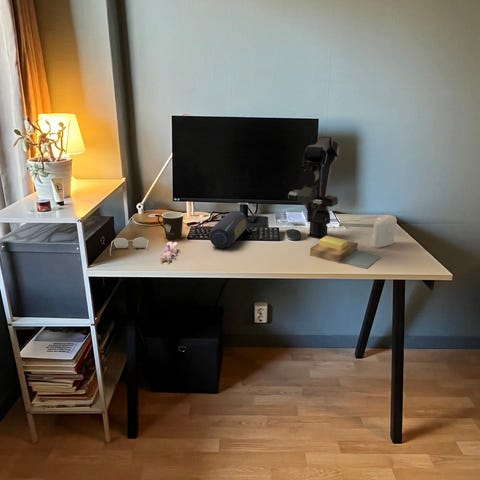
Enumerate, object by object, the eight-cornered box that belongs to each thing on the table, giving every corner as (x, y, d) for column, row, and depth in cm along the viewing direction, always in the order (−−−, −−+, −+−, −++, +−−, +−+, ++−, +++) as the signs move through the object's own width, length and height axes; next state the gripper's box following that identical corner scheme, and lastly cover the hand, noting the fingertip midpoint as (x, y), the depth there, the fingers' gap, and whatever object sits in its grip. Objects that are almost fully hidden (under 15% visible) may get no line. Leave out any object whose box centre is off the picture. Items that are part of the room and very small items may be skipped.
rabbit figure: (174, 267, 168) (182, 246, 181) (172, 253, 165) (180, 232, 178) (157, 266, 169) (166, 245, 182) (155, 252, 166) (164, 232, 179)
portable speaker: (231, 252, 178) (231, 227, 175) (207, 249, 181) (206, 225, 178) (249, 231, 201) (250, 209, 197) (227, 229, 204) (227, 207, 200)
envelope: (383, 229, 207) (377, 219, 220) (384, 224, 206) (377, 215, 219) (329, 226, 208) (326, 217, 221) (330, 222, 207) (326, 213, 220)
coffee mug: (187, 238, 192) (187, 215, 188) (168, 242, 187) (167, 219, 184) (175, 231, 201) (174, 208, 197) (156, 234, 196) (155, 212, 193)
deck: (310, 255, 175) (310, 248, 174) (328, 243, 187) (329, 236, 186) (339, 263, 169) (339, 255, 168) (357, 250, 181) (357, 242, 180)
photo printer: (386, 241, 191) (390, 212, 186) (395, 244, 187) (399, 214, 183) (369, 245, 185) (372, 216, 181) (378, 249, 182) (381, 219, 178)
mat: (340, 262, 169) (340, 261, 169) (355, 250, 180) (356, 250, 180) (366, 268, 164) (366, 268, 164) (381, 256, 174) (381, 256, 174)
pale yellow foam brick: (319, 244, 178) (319, 239, 177) (326, 240, 182) (326, 235, 181) (340, 250, 173) (341, 245, 172) (347, 245, 177) (347, 240, 176)
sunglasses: (149, 248, 183) (148, 237, 180) (146, 259, 175) (145, 248, 173) (113, 249, 182) (111, 238, 179) (109, 260, 175) (107, 249, 172)
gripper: (281, 180, 174) (279, 220, 179) (326, 187, 163) (323, 229, 169) (296, 175, 182) (294, 213, 187) (340, 181, 172) (336, 221, 177)
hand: (311, 219), depth 180 cm, fingers closed
